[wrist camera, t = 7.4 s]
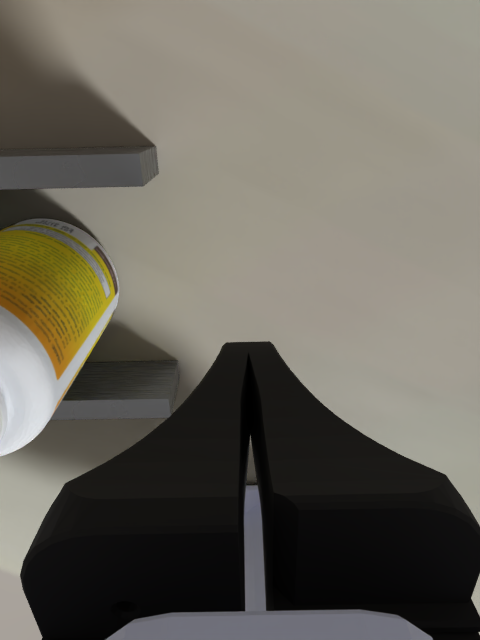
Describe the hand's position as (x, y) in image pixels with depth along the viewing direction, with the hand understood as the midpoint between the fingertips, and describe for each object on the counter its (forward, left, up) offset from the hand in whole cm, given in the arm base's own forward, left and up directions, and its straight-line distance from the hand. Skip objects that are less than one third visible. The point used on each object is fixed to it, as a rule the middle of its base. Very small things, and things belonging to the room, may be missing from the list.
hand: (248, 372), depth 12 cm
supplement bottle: (0, +8, -8) cm, 11 cm away
